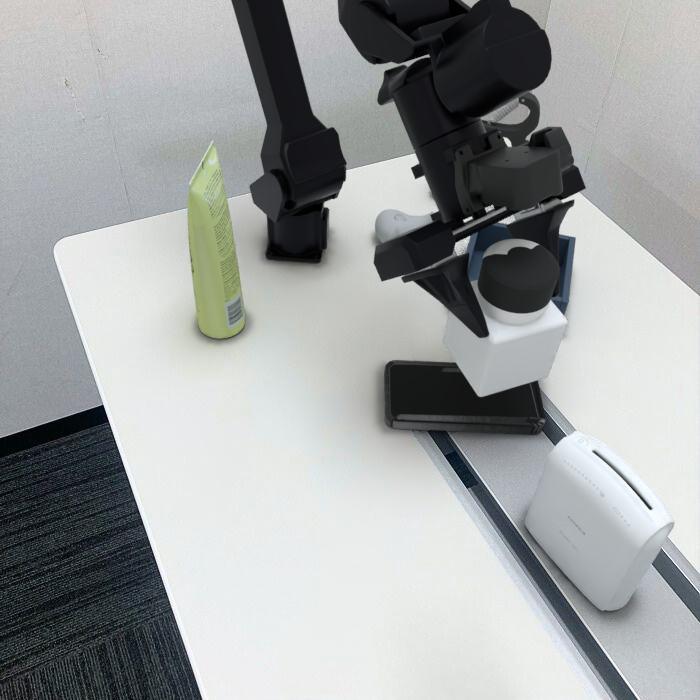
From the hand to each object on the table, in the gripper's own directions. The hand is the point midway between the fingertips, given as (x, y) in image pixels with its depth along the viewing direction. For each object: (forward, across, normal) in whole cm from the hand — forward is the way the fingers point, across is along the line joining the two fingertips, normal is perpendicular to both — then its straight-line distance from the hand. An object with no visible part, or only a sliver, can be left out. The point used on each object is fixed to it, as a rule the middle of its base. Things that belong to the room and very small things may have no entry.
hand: (520, 316), depth 62 cm
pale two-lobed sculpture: (-8, +11, +28) cm, 31 cm away
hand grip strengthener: (-9, +24, +29) cm, 39 cm away
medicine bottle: (+4, 0, +6) cm, 7 cm away
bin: (+1, +15, +18) cm, 24 cm away
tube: (-8, -14, +28) cm, 33 cm away
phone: (+7, -1, +12) cm, 14 cm away
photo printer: (+20, -5, -1) cm, 20 cm away
